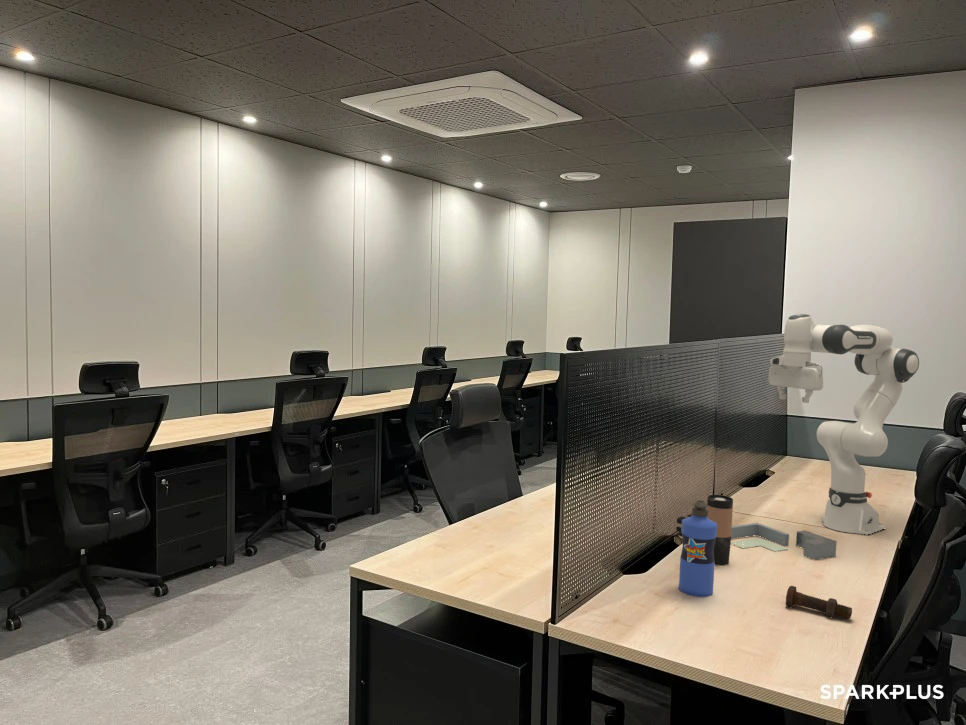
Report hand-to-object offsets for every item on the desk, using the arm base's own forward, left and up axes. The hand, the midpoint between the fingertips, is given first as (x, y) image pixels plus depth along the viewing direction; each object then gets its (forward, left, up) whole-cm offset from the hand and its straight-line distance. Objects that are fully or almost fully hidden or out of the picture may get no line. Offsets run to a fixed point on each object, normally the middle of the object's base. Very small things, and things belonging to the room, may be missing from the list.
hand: (793, 400), depth 239 cm
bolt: (+45, +50, -48) cm, 83 cm away
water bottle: (+65, +27, -48) cm, 86 cm away
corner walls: (+16, +1, -48) cm, 51 cm away
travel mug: (+42, +11, -48) cm, 65 cm away
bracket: (+6, +15, -48) cm, 51 cm away
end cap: (+31, -12, -48) cm, 59 cm away
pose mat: (+18, +5, -48) cm, 52 cm away
